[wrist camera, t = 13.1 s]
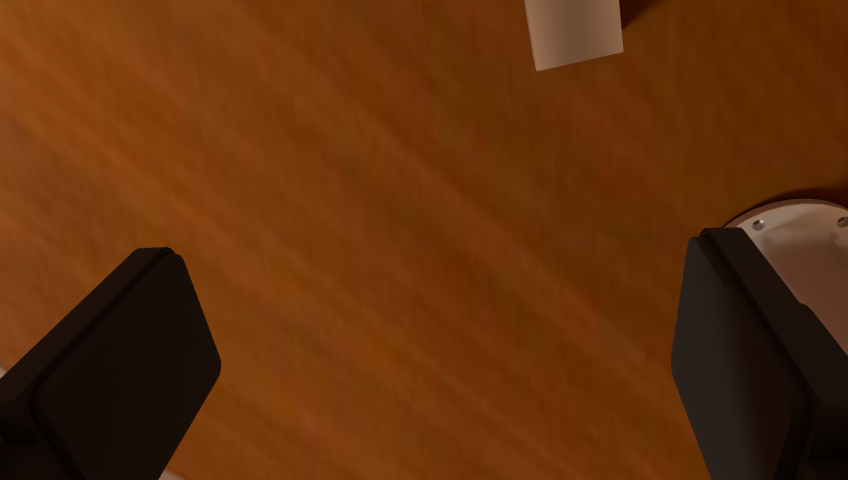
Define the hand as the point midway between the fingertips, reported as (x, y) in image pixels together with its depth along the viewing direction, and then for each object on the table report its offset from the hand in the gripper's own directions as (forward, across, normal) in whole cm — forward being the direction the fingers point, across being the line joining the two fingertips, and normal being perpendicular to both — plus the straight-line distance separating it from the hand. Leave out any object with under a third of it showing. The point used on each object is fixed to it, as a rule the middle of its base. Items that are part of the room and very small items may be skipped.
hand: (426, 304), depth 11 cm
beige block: (+31, -6, 0) cm, 31 cm away
